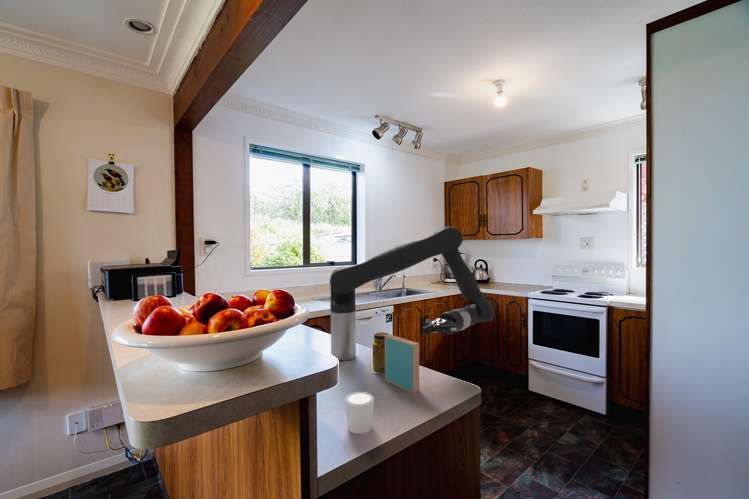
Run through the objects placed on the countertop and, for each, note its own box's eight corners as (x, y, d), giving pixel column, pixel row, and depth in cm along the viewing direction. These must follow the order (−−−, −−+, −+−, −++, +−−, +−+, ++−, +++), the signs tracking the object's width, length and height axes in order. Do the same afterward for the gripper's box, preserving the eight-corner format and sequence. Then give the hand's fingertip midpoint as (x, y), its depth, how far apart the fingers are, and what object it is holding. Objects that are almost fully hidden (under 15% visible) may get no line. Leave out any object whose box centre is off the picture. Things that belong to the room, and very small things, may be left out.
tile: (389, 378, 107) (389, 334, 107) (419, 390, 99) (419, 343, 98) (384, 380, 106) (384, 335, 105) (414, 393, 97) (414, 345, 96)
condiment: (371, 365, 118) (370, 331, 117) (395, 364, 119) (395, 330, 118) (373, 374, 110) (372, 337, 110) (398, 373, 111) (398, 337, 111)
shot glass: (339, 430, 79) (339, 401, 79) (354, 416, 85) (354, 389, 85) (365, 438, 76) (365, 408, 75) (379, 423, 82) (379, 394, 81)
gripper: (439, 307, 125) (408, 316, 113) (471, 313, 115) (440, 323, 103) (440, 327, 125) (408, 338, 113) (471, 335, 115) (440, 347, 104)
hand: (423, 331), depth 108 cm, fingers closed
